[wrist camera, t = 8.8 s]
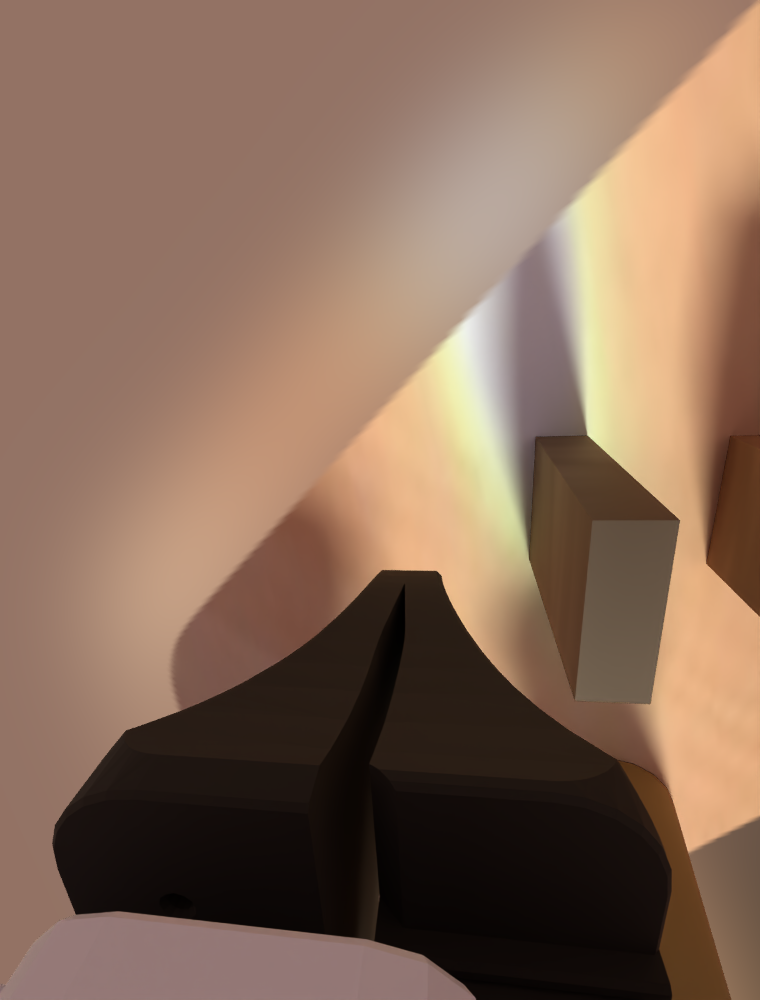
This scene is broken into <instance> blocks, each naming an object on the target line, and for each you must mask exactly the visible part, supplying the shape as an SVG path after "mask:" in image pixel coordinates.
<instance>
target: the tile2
mask: <svg viewBox="0 0 760 1000" xmlns="http://www.w3.org/2000/svg"><path fill="white" fill-rule="evenodd" d="M706 564H707V565H708V566H709V567H710V568H711V569H712V570H713V571H714V572H715V573H716V574H717V575H718V576H719V577H720V578H721V579H722V580H723V581H724V582H725V583H726V584H727V585H728V586H729V587H730V588H731V589H732V590H733V591H734V592H735V593H736V594H737V595H738V596H739V597H740V598H741V599H742V600H743V601H744V602H745V603H746V604H747V605H748V606H749V607H750V608H751V609H752V610H753V611H754V612H756V613H757V614H758V615H759V616H760V435H757V436H730V441H729V447H728V452H727V457H726V463H725V468H724V473H723V478H722V484H721V489H720V494H719V500H718V505H717V510H716V516H715V521H714V526H713V532H712V537H711V542H710V547H709V553H708V558H707V563H706Z"/></svg>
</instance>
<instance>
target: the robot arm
mask: <svg viewBox="0 0 760 1000" xmlns="http://www.w3.org/2000/svg"><path fill="white" fill-rule="evenodd" d="M52 844H53V850H54V854H55V858H56V863H57V867H58V871H59V873H60V876H61V878H62V881H63V883H64V886H65V888H66V891H67V893H68V896H69V898H70V901H71V903H72V906H73V908H74V911H75V914H76V915H73V916H71V917H68V918H65V919H62V920H59V921H58V922H57V923H56V924H55V925H53V926H52V927H51V928H50V929H49V930H47V931H46V932H45V933H44V934H43V935H42V936H41V937H39V938H38V939H37V940H36V941H35V942H34V943H33V944H32V946H31V947H30V949H29V950H28V952H27V953H26V955H25V956H24V958H23V959H22V961H21V962H20V964H19V966H18V967H17V968H16V970H15V972H14V973H13V975H12V976H11V978H10V979H9V981H8V982H7V984H6V985H5V984H0V1000H671V999H672V990H671V984H670V981H669V978H668V975H667V972H666V969H665V966H664V962H663V959H662V956H661V953H660V950H659V947H660V943H661V938H662V933H663V929H664V924H665V920H666V915H667V911H668V906H669V902H670V897H671V892H672V869H671V866H670V864H669V861H668V859H667V855H666V852H665V849H664V846H663V844H662V841H661V839H660V836H659V834H658V832H657V830H656V827H655V825H654V823H653V821H652V819H651V817H650V815H649V813H648V811H647V810H646V808H645V806H644V804H643V802H642V800H641V799H640V797H639V795H638V793H637V791H636V790H635V788H634V786H633V784H632V783H631V781H630V779H629V778H628V776H627V774H626V773H625V771H624V769H623V768H622V766H621V764H620V763H619V762H618V761H617V760H616V759H615V758H613V757H611V756H610V755H608V754H606V753H605V752H603V751H602V750H600V749H598V748H597V747H595V746H593V745H592V744H590V743H589V742H587V741H585V740H584V739H582V738H581V737H579V736H577V735H576V734H574V733H572V732H571V731H569V730H568V729H566V728H565V727H563V726H562V725H561V724H559V723H558V722H557V721H555V720H554V719H553V718H551V717H550V716H549V715H547V714H546V713H545V712H543V711H542V710H540V709H539V708H538V707H537V706H536V705H534V704H533V703H532V702H531V701H530V700H529V699H528V698H526V697H525V696H524V695H523V694H522V693H521V692H520V691H519V690H517V689H516V688H515V687H514V686H513V685H512V684H511V683H510V682H509V681H508V680H507V679H506V678H505V677H504V676H503V675H502V674H501V673H500V672H499V671H498V669H497V668H496V667H495V666H494V665H493V664H492V663H491V662H490V660H489V659H488V658H487V657H486V656H485V654H484V653H483V652H482V651H481V649H480V648H479V647H478V645H477V644H476V643H475V641H474V640H473V638H472V637H471V635H470V634H469V633H468V631H467V630H466V628H465V626H464V625H463V623H462V622H461V620H460V618H459V616H458V615H457V613H456V611H455V609H454V608H453V606H452V604H451V602H450V600H449V598H448V595H447V593H446V591H445V588H444V585H443V582H442V576H441V575H440V574H439V573H438V572H437V571H400V570H382V571H381V572H380V573H379V574H378V575H377V576H376V577H375V578H374V579H373V580H372V581H371V582H370V583H369V584H368V586H367V587H366V588H365V589H364V590H363V591H362V592H361V593H360V594H359V595H358V596H357V598H356V599H355V600H354V601H353V602H352V603H351V604H350V605H349V606H348V607H347V608H346V609H345V610H344V611H343V612H342V613H341V614H340V615H339V616H338V617H337V618H336V619H334V620H333V621H332V622H331V623H330V624H329V625H328V626H326V627H325V628H324V629H323V630H322V631H321V632H320V633H319V634H317V635H316V636H315V637H314V638H312V639H311V640H310V641H308V642H307V643H306V644H305V645H303V646H302V647H300V648H299V649H297V650H296V651H295V652H293V653H292V654H290V655H289V656H287V657H286V658H284V659H283V660H281V661H280V662H278V663H276V664H275V665H273V666H271V667H270V668H268V669H266V670H264V671H263V672H261V673H259V674H257V675H256V676H254V677H252V678H251V679H249V680H247V681H245V682H244V683H242V684H240V685H238V686H236V687H234V688H232V689H230V690H228V691H226V692H223V693H221V694H219V695H217V696H215V697H213V698H210V699H208V700H206V701H204V702H201V703H199V704H197V705H194V706H192V707H190V708H187V709H185V710H182V711H179V712H177V713H174V714H171V715H169V716H166V717H163V718H161V719H158V720H155V721H152V722H149V723H147V724H144V725H141V726H138V727H136V728H132V729H130V730H126V731H125V732H124V734H123V735H122V736H121V737H120V739H119V740H118V741H117V742H116V743H115V745H114V746H113V747H112V748H111V750H110V751H109V752H108V753H107V755H106V756H105V757H104V758H103V760H102V761H101V763H100V764H99V765H98V766H97V768H96V769H95V771H94V772H93V773H92V774H91V776H90V777H89V778H88V780H87V781H86V782H85V784H84V785H83V786H82V788H81V789H80V791H79V792H78V793H77V794H76V796H75V797H74V798H73V800H72V801H71V802H70V804H69V805H68V806H67V808H66V809H65V811H64V812H63V814H62V815H61V817H60V818H59V820H58V821H57V823H56V824H55V829H54V836H53V843H52Z"/></svg>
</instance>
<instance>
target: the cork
mask: <svg viewBox="0 0 760 1000" xmlns="http://www.w3.org/2000/svg"><path fill="white" fill-rule="evenodd" d="M617 761H618V760H617ZM618 762H619V763H620V764H621V766H622V768H623V769H624V771H625V773H626V774H627V776H628V778H629V779H630V781H631V783H632V784H633V786H634V788H635V790H636V791H637V793H638V795H639V797H640V799H641V800H642V802H643V804H644V806H645V808H646V810H647V811H648V813H649V815H650V817H651V819H652V821H653V823H654V825H655V827H656V830H657V832H658V834H659V836H660V839H661V841H662V844H663V846H664V849H665V852H666V855H667V859H668V861H669V864H670V866H671V869H672V892H671V897H670V902H669V906H668V911H667V915H666V920H665V924H664V929H663V933H662V938H661V943H660V947H659V950H660V953H661V956H662V959H663V962H664V966H665V969H666V972H667V975H668V978H669V981H670V984H671V990H672V999H671V1000H731V997H730V994H729V990H728V987H727V983H726V980H725V977H724V973H723V970H722V966H721V963H720V960H719V956H718V953H717V950H716V946H715V943H714V939H713V936H712V932H711V929H710V926H709V922H708V919H707V915H706V912H705V909H704V906H703V902H702V898H701V895H700V892H699V888H698V885H697V882H696V878H695V875H694V871H693V868H692V865H691V861H690V858H689V854H688V851H687V847H686V844H685V841H684V837H683V834H682V830H681V827H680V824H679V820H678V817H677V813H676V810H675V807H674V804H673V801H672V799H671V796H670V794H669V791H668V789H667V788H666V787H665V786H664V785H663V784H662V783H661V782H660V781H659V780H658V779H657V778H656V777H655V776H654V775H653V774H651V773H649V772H648V771H646V770H644V769H642V768H640V767H638V766H636V765H634V764H631V763H626V762H622V761H618Z"/></svg>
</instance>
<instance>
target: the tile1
mask: <svg viewBox="0 0 760 1000" xmlns="http://www.w3.org/2000/svg"><path fill="white" fill-rule="evenodd" d="M679 523H680V520H679V519H678V518H677V517H676V516H675V515H673V514H672V513H671V512H670V511H669V510H668V509H667V508H666V507H665V506H664V505H663V504H661V503H660V502H659V501H658V500H657V499H656V498H655V497H654V496H653V495H652V494H651V493H649V492H648V491H647V490H646V489H645V488H644V487H643V486H642V485H641V484H640V483H639V482H638V481H636V480H635V479H634V478H633V477H632V476H631V475H630V474H629V473H628V472H627V471H626V470H624V469H623V468H622V467H621V466H620V465H619V464H618V463H617V462H616V461H615V460H614V459H612V458H611V457H610V456H609V455H608V454H607V453H606V452H605V451H604V450H603V449H602V448H600V447H599V446H598V445H597V444H596V443H595V442H594V441H593V440H592V439H591V438H590V437H588V436H549V437H536V440H535V459H534V478H533V497H532V516H531V535H530V554H529V560H530V563H531V566H532V569H533V572H534V576H535V579H536V582H537V585H538V588H539V591H540V594H541V597H542V600H543V603H544V607H545V610H546V613H547V616H548V619H549V622H550V625H551V628H552V631H553V634H554V638H555V641H556V644H557V647H558V650H559V653H560V656H561V659H562V662H563V665H564V669H565V672H566V675H567V678H568V681H569V684H570V687H571V690H572V693H573V696H574V699H575V701H589V702H612V703H635V704H650V703H651V697H652V691H653V685H654V678H655V672H656V666H657V660H658V653H659V647H660V641H661V635H662V629H663V622H664V616H665V610H666V604H667V597H668V591H669V585H670V579H671V573H672V566H673V560H674V554H675V548H676V542H677V535H678V529H679Z"/></svg>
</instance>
